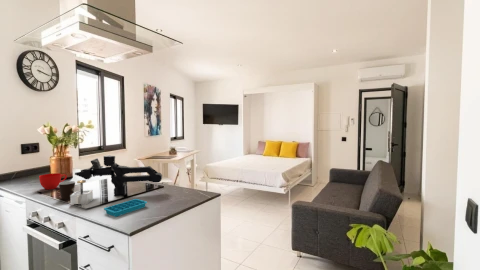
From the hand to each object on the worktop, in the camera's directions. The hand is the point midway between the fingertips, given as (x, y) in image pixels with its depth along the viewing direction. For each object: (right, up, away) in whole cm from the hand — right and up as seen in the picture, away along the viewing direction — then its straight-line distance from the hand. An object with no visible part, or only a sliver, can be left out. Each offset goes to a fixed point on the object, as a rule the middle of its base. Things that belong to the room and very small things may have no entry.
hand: (77, 172), depth 158 cm
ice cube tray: (+42, -18, -22) cm, 51 cm away
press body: (+9, -17, -11) cm, 22 cm away
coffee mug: (-6, -17, +1) cm, 18 cm away
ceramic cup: (-34, -16, +24) cm, 44 cm away
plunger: (+9, -12, -10) cm, 18 cm away
